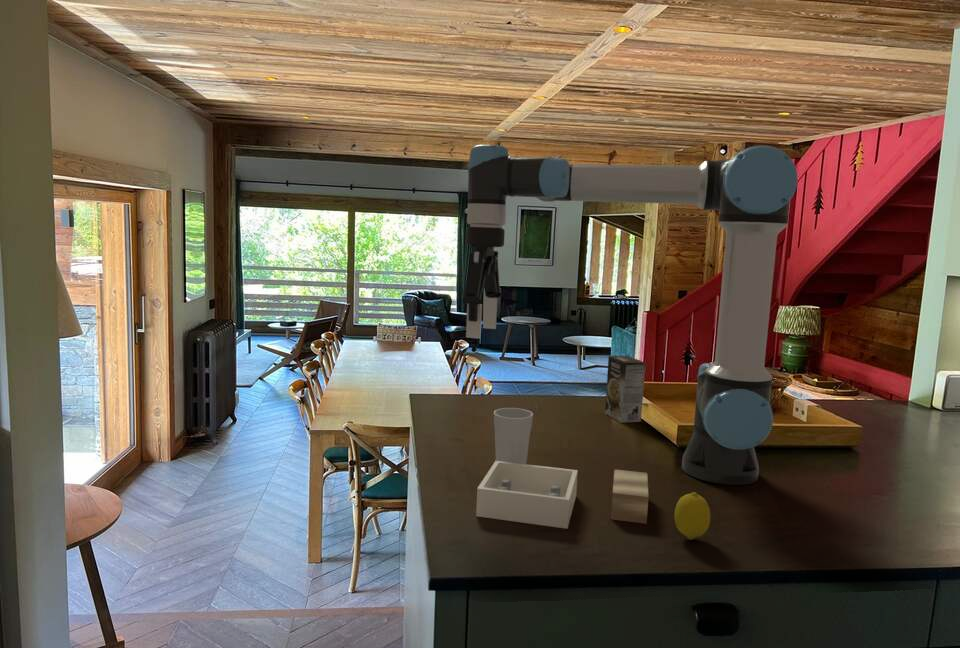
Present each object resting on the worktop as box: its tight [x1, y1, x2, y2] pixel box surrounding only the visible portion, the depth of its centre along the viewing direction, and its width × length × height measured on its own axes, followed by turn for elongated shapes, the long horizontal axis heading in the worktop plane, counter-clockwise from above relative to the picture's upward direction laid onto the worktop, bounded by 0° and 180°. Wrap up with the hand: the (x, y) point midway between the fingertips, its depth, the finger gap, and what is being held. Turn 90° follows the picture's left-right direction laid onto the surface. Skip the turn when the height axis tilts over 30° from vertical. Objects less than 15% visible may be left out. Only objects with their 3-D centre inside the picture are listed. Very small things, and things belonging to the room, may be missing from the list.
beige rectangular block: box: [610, 469, 649, 524], centre depth 122 cm, size 12×6×5 cm, turn 167°
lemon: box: [674, 491, 711, 541], centre depth 109 cm, size 6×6×8 cm
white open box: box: [475, 460, 579, 530], centre depth 121 cm, size 16×15×5 cm
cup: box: [493, 407, 534, 464], centre depth 138 cm, size 8×8×12 cm
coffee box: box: [604, 355, 647, 423], centre depth 180 cm, size 9×6×16 cm
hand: (481, 333), depth 136 cm, fingers open, 13 cm apart
